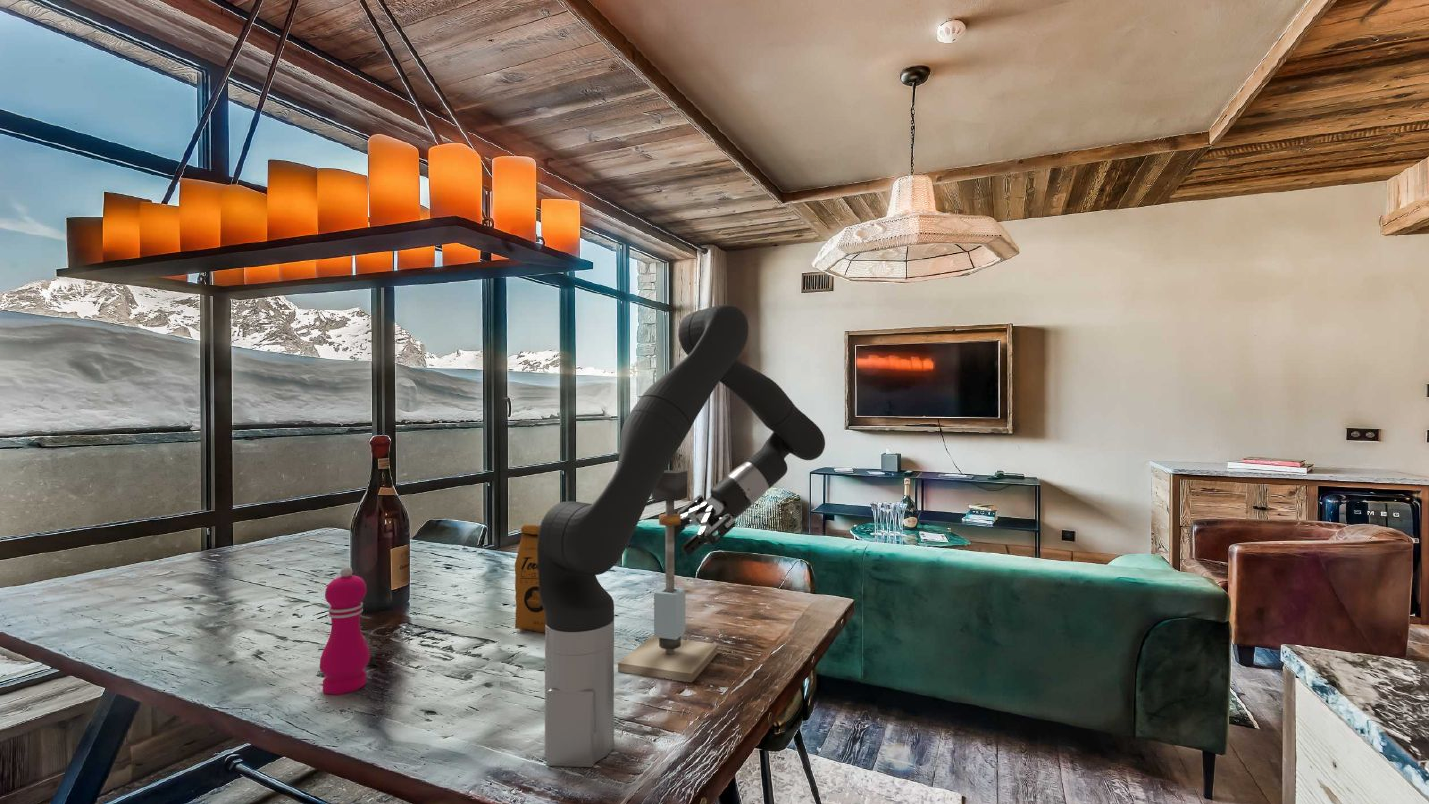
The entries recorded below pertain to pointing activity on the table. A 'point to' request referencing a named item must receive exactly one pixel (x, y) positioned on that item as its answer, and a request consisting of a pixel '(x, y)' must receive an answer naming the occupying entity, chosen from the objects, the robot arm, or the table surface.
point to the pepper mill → (345, 636)
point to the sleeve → (669, 613)
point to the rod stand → (662, 653)
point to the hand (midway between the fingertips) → (675, 543)
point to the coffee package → (528, 583)
